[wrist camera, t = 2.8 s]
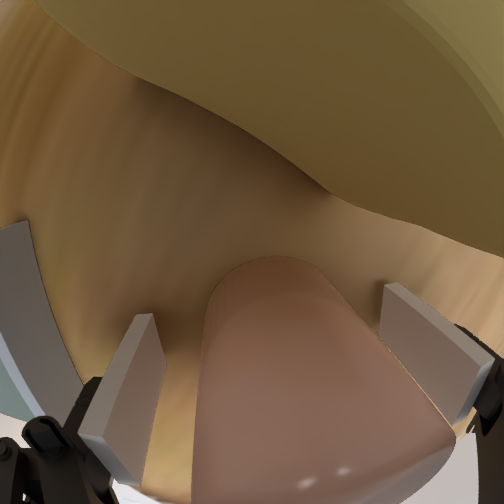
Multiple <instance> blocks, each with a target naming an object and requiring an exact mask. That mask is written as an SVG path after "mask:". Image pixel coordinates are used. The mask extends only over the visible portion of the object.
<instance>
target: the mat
mask: <svg viewBox="0 0 504 504" xmlns="http://www.w3.org/2000/svg"><path fill="white" fill-rule="evenodd" d="M0 413H2V414H4V415H7V416H11V417H13V418H16V419H19V420H23V421H26V422H29V421H30V420H31V419H33V418H35V416H34V414H33V413H32V411H31V410H30V408H29V407H28V405H27V404H26V402H25V401H24V399H23V397H22V396H21V394H20V393H19V391H18V389H17V388H16V386H15V384H14V382H13V381H12V379H11V377H10V375H9V373H8V372H7V370H6V368H5V366H4V364H3V362H2V360H1V358H0Z"/></svg>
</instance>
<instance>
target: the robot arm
mask: <svg viewBox="0 0 504 504" xmlns="http://www.w3.org/2000/svg"><path fill="white" fill-rule="evenodd" d="M378 336H379V337H380V338H381V339H382V341H383V342H384V343H385V344H386V345H387V347H388V348H389V349H390V350H391V351H392V352H393V354H394V355H395V356H396V357H397V358H398V360H399V361H400V362H401V363H402V364H403V366H404V367H405V368H406V369H407V370H408V372H409V373H410V374H411V375H412V376H413V378H414V379H415V380H416V381H417V383H418V384H419V385H420V386H421V387H422V389H423V390H424V391H425V392H426V394H427V395H428V396H429V397H430V399H431V400H432V401H433V402H434V404H435V405H436V406H437V407H438V409H439V410H440V411H441V413H442V414H443V415H444V416H445V418H446V419H447V420H448V422H449V423H450V424H451V425H452V426H453V425H455V424H456V423H458V422H460V421H462V420H463V419H465V418H467V416H468V414H469V412H470V410H471V409H472V407H474V408H475V409H476V410H477V412H476V414H475V416H474V417H473V419H472V421H471V422H470V424H469V426H468V427H467V429H466V433H469V432H470V430H471V428H472V427H473V425H475V427H474V429H473V431H472V433H476V442H477V453H478V472H479V498H478V501H479V502H478V504H504V359H503V358H501V357H500V356H499V355H498V354H496V353H495V352H494V351H493V350H492V349H490V348H489V347H488V346H487V345H486V344H484V343H483V342H482V341H479V339H478V338H477V337H476V336H473V334H472V333H471V332H469V331H468V330H467V329H466V328H464V327H461V326H459V325H457V324H452V323H451V322H450V321H448V320H447V319H446V318H445V317H443V316H442V315H441V314H439V313H438V312H437V311H436V310H434V309H433V308H432V307H430V306H429V305H428V304H426V303H425V302H424V301H422V300H421V299H420V298H418V297H417V296H416V295H414V294H413V293H412V292H410V291H409V290H407V289H406V288H405V287H403V286H402V285H401V284H399V283H398V282H396V283H390V284H385V285H384V290H383V300H382V308H381V316H380V324H379V331H378ZM166 367H167V363H166V359H165V356H164V353H163V349H162V346H161V342H160V339H159V335H158V332H157V328H156V324H155V320H154V316H153V313H149V314H136V316H135V317H134V319H133V321H132V323H131V325H130V327H129V328H128V330H127V332H126V334H125V336H124V338H123V339H122V341H121V343H120V345H119V347H118V349H117V351H116V353H115V355H114V357H113V359H112V360H111V362H110V364H109V366H108V368H107V370H106V372H105V374H104V376H103V377H93V378H92V379H91V380H90V381H88V382H87V383H86V384H85V385H84V387H83V389H82V390H81V392H80V394H79V397H78V398H77V400H76V402H75V406H73V408H72V410H71V412H70V414H69V416H68V418H67V420H66V422H65V424H64V426H63V428H62V427H61V425H60V424H59V422H58V421H57V420H56V419H55V418H53V417H51V416H47V415H44V416H38V417H35V418H33V419H31V420H30V421H29V422H27V424H26V425H25V427H24V428H23V430H22V435H21V436H22V437H23V439H24V440H25V441H26V442H27V444H28V445H29V446H30V447H31V448H21V447H20V446H19V445H18V444H17V443H16V442H15V441H14V440H13V439H12V438H9V437H3V438H0V504H119V502H118V500H117V497H116V495H115V492H114V490H113V489H112V487H111V486H110V484H109V482H110V478H111V476H112V477H113V478H114V479H115V480H116V481H117V482H118V483H119V484H125V485H132V486H140V487H141V483H142V477H143V471H144V466H145V461H146V456H147V451H148V446H149V441H150V436H151V431H152V426H153V422H154V417H155V413H156V408H157V404H158V400H159V395H160V391H161V387H162V383H163V379H164V375H165V371H166ZM23 493H24V494H25V495H26V498H25V501H23Z"/></svg>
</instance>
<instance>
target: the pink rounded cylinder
mask: <svg viewBox="0 0 504 504" xmlns="http://www.w3.org/2000/svg"><path fill="white" fill-rule="evenodd" d="M455 444H456V436H455V433H454V431H453V430H452V429H451V427H450V426H449V425H448V423H447V422H446V421H445V419H444V418H443V417H442V415H441V414H440V413H439V412H438V410H437V409H436V408H435V407H434V405H433V404H432V403H431V401H430V400H429V399H428V398H427V396H426V395H425V394H424V393H423V391H422V390H421V389H420V388H419V386H418V385H417V384H416V383H415V381H414V380H413V379H412V378H411V376H410V375H409V374H408V373H407V372H406V370H405V369H404V368H403V367H402V365H401V364H400V363H399V362H398V361H397V359H396V358H395V357H394V356H393V355H392V353H391V352H390V351H389V350H388V349H387V347H386V346H385V345H384V344H383V343H382V342H381V340H380V339H379V338H378V337H377V336H376V334H375V333H374V332H373V331H372V330H371V329H370V327H369V326H368V325H367V324H366V323H365V322H364V320H363V319H362V318H361V317H360V316H359V315H358V314H357V312H356V311H355V310H354V309H353V308H352V307H351V306H350V304H349V303H348V302H347V301H346V300H345V299H344V298H343V296H342V295H341V294H340V293H339V292H338V291H337V290H336V289H335V287H334V286H333V285H332V284H331V283H330V282H329V281H328V280H327V279H326V277H325V276H324V275H323V274H322V273H321V272H320V271H319V270H317V269H316V268H315V267H313V266H312V265H310V264H308V263H306V262H304V261H301V260H298V259H295V258H290V257H283V256H271V257H264V258H259V259H255V260H252V261H249V262H247V263H245V264H242V265H240V266H239V267H237V268H235V269H234V270H232V271H231V272H230V273H229V274H227V275H226V276H225V277H224V278H223V279H222V280H221V281H220V282H219V284H218V285H217V286H216V288H215V289H214V291H213V293H212V295H211V296H210V299H209V302H208V304H207V309H206V315H205V324H204V333H203V342H202V351H201V361H200V371H199V382H198V393H197V405H196V418H195V431H194V446H193V463H192V483H191V504H399V503H401V502H403V501H404V500H406V499H407V498H408V497H410V496H411V495H413V494H414V493H415V492H417V491H418V490H419V489H420V488H422V487H423V486H424V485H425V484H426V483H427V482H429V481H430V480H431V479H432V478H433V477H434V476H435V475H436V474H437V473H438V472H439V470H440V469H441V468H442V467H443V466H444V464H445V463H446V462H447V460H448V459H449V457H450V455H451V454H452V452H453V450H454V447H455Z"/></svg>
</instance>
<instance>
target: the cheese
mask: <svg viewBox="0 0 504 504" xmlns="http://www.w3.org/2000/svg"><path fill="white" fill-rule="evenodd" d="M35 1H36V2H37V4H38V5H39V6H40V7H41V8H42V10H43V11H44V12H45V13H46V14H48V15H49V16H50V17H51V18H52V19H53V20H54V21H55V22H56V23H58V24H59V25H60V26H61V27H62V28H64V29H65V30H66V31H67V32H68V33H70V34H71V35H72V36H73V37H75V38H76V39H77V40H79V41H80V42H81V43H82V44H84V45H85V46H87V47H88V48H89V49H91V50H92V51H93V52H95V53H96V54H97V55H99V56H100V57H102V58H103V59H105V60H107V61H108V62H110V63H112V64H114V65H115V66H117V67H119V68H121V69H123V70H125V71H127V72H129V73H131V74H133V75H135V76H137V77H139V78H141V79H144V80H146V81H148V82H150V83H153V84H155V85H157V86H160V87H162V88H164V89H167V90H169V91H171V92H173V93H176V94H178V95H180V96H182V97H184V98H186V99H188V100H190V101H192V102H193V103H195V104H197V105H199V106H201V107H203V108H205V109H207V110H209V111H211V112H213V113H215V114H216V115H218V116H220V117H222V118H224V119H226V120H227V121H229V122H231V123H233V124H235V125H236V126H238V127H240V128H242V129H243V130H245V131H247V132H248V133H250V134H251V135H253V136H254V137H256V138H257V139H259V140H260V141H262V142H263V143H265V144H266V145H268V146H269V147H271V148H272V149H274V150H275V151H276V152H278V153H279V154H281V155H282V156H283V157H285V158H286V159H287V160H289V161H290V162H291V163H293V164H294V165H295V166H297V167H298V168H299V169H301V170H302V171H303V172H305V173H306V174H307V175H308V176H310V177H311V178H312V179H314V180H315V181H316V182H317V183H319V184H320V185H321V186H322V187H324V188H325V189H326V190H327V191H328V192H330V193H331V194H333V195H335V196H337V197H339V198H341V199H342V200H344V201H347V202H349V203H351V204H353V205H355V206H358V207H361V208H364V209H366V210H369V211H372V212H375V213H379V214H382V215H385V216H388V217H390V218H393V219H397V220H401V221H405V222H409V223H412V224H416V225H419V226H422V227H424V228H427V229H429V230H431V231H433V232H436V233H438V234H441V235H443V236H446V237H448V238H451V239H453V240H455V241H458V242H460V243H463V244H465V245H468V246H471V247H473V248H476V249H479V250H482V251H485V252H488V253H491V254H494V255H497V256H500V257H503V258H504V0H35Z"/></svg>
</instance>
